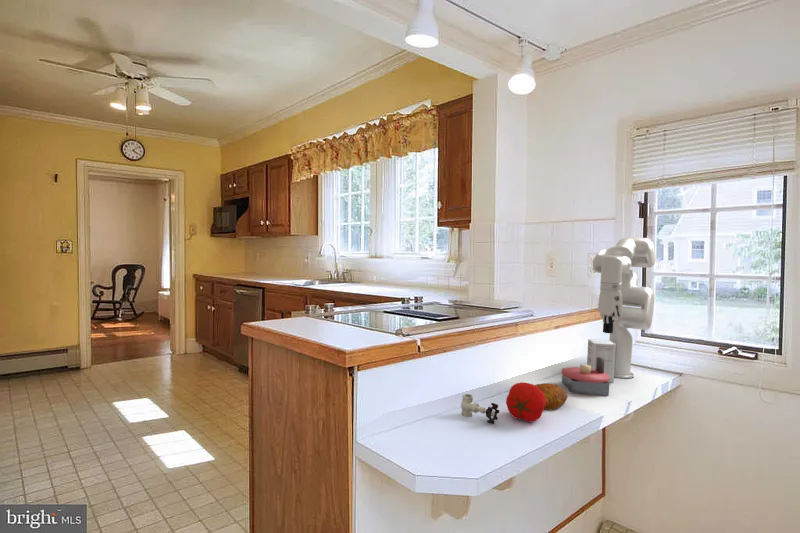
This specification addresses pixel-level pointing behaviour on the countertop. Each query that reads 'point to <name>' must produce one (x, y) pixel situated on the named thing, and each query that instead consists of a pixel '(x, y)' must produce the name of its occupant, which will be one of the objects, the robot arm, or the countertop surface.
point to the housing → (585, 387)
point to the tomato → (525, 401)
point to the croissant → (552, 395)
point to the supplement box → (602, 355)
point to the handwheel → (588, 372)
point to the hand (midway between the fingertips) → (607, 332)
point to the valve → (478, 408)
